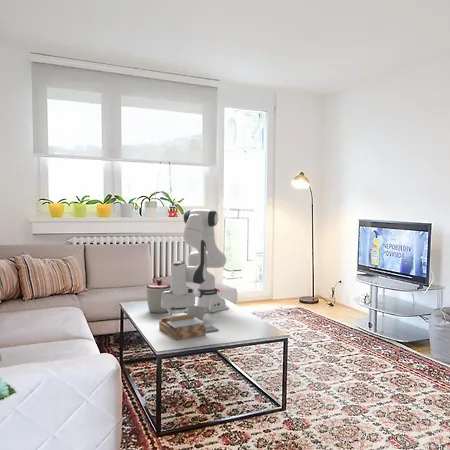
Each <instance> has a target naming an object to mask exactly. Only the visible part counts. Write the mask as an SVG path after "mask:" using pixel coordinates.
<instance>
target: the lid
mask: <svg viewBox="0 0 450 450" xmlns="http://www.w3.org/2000/svg"><path fill="white" fill-rule="evenodd" d="M169 317H170V321H169V322H167V323H168V324H169V325H171V326H173V329H174V328H177V327H188V326H190V325H196V324H204V323H205V321H204V320H203V319H202V320H200V319H198V318H194V314H187V313H186V314H181V315H174V316H173V315H172V316H169Z"/></svg>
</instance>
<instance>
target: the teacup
mask: <svg viewBox="0 0 450 450" xmlns="http://www.w3.org/2000/svg"><path fill="white" fill-rule="evenodd" d="M205 308H207V311H204V309H205ZM208 311H209V309H208V307H203V306H197V305H189V309H188V310H187V313H186V315H187V314H194V318H198V319H200V320H202V321H203V318H204V317H205V316H206V315H207V314H208V313H209V312H208Z"/></svg>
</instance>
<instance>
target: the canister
mask: <svg viewBox="0 0 450 450" xmlns="http://www.w3.org/2000/svg"><path fill="white" fill-rule="evenodd" d="M144 288H145V289H146V300H147V306H148V310H149V312H151V313H153V314H154V313H155V314H163V313H167V312H168V310H167V308H162V307H161V294H162V293H163V292H165V291H171V283H168V282H163V281H162V279H160V278H159V279H156V282H151V283H149V284H147V285H145V286H144Z"/></svg>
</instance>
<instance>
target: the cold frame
mask: <svg viewBox="0 0 450 450" xmlns="http://www.w3.org/2000/svg"><path fill="white" fill-rule="evenodd" d="M170 317H171V316H169V317H163V318H162V317H161V318H160V320H159V323H158V328H159V329H158V330H160V331H161V330H162V331H161V332H163V333H165V334H166V335H167V336H169V337H170V338H171V339H173V340H175V341H178V340H179V339H180V340H185V339H192V338H196V337H200V336H206V327H207V326H205V324H204V323H202V324H196V325H190V326H184V327H181V328H177V331H176V330H174V327H173V326H171V325H169V324H168V323H167V322H169V321H170Z"/></svg>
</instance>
